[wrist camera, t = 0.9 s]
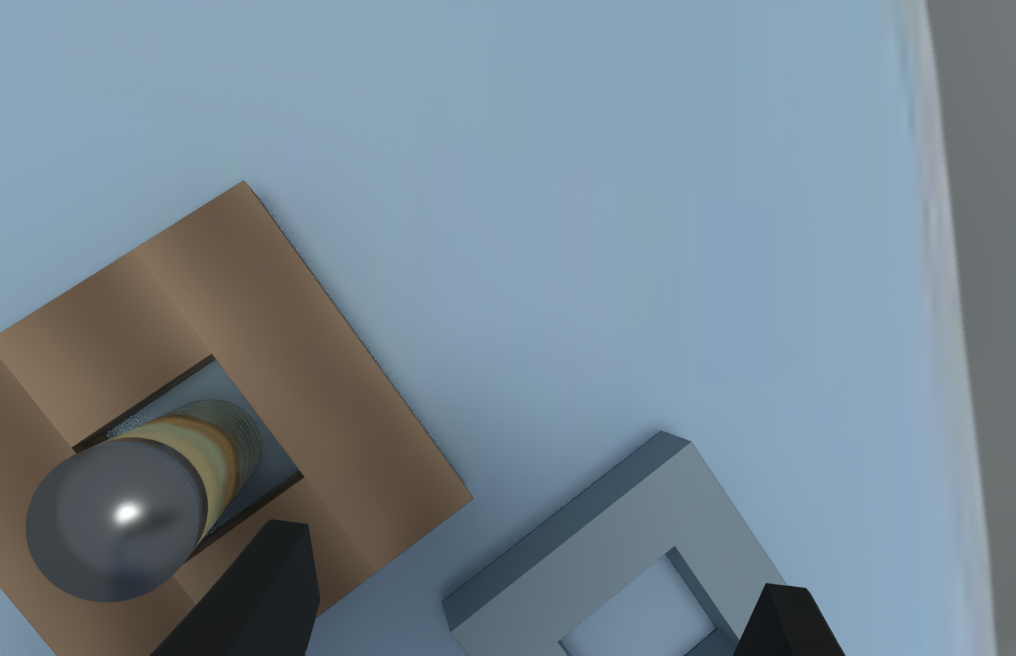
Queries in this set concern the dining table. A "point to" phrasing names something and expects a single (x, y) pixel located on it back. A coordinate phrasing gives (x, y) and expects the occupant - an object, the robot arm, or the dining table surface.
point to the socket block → (263, 382)
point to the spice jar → (140, 501)
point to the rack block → (618, 558)
